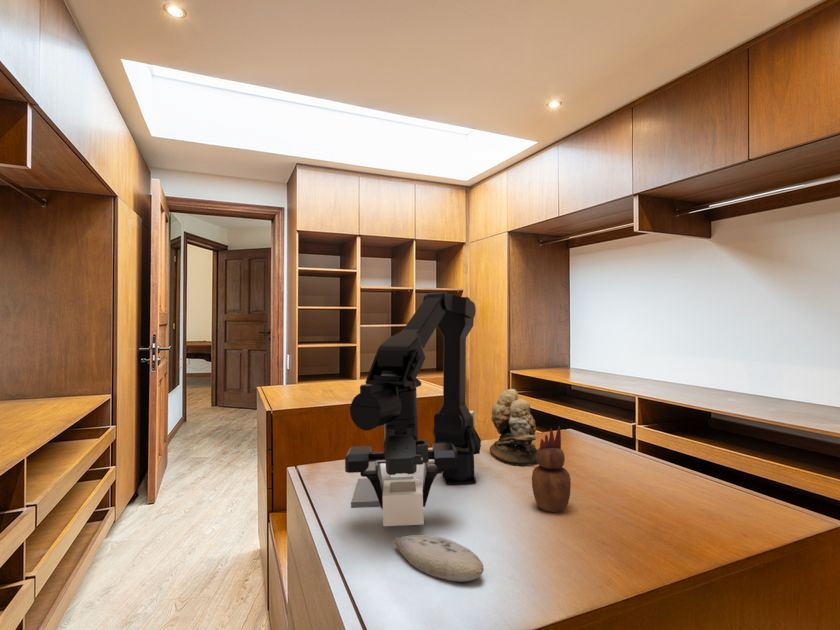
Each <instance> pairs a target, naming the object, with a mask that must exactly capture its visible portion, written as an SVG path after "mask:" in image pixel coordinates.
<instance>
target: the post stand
mask: <svg viewBox="0 0 840 630" xmlns="http://www.w3.org/2000/svg"><path fill="white" fill-rule="evenodd" d="M380 468H381V476H382V483H383V488H384V480H408V479H415V478H414V476H393V477H391V476H392V475H389V474H387V472H386V463H380ZM350 506H351V508H352V509H353V508H371V507H372V508H373V507H381V506H380V503H379V500H378V497H377V495H376V492H375V490H374V487H373V485H372V484H371V482H370V480H369V479H368V478H367V477H365V478H364V477H363V478H357V481H356V484H355V488H354V491H353V494H352V498H351V501H350Z"/></svg>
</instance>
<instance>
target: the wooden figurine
mask: <svg viewBox="0 0 840 630" xmlns="http://www.w3.org/2000/svg"><path fill="white" fill-rule="evenodd" d="M553 431H554V430H553V428H550V430H549V437H548V434H545V435H544V439H543V438H541V439H540V443H539V447H538V449H537V453H536V459H537V463H538V464H537V466H536V467H534V468H533V470H532V476H531V487H532V492H533V493H532V494H533V497H534V500H535V502H536V504H537V506H538V507H539V508H540V509H541V510H542V511H546V512H550V513H556V512H557V513H560V512H563V511H564V510H566V509H567V507H568V505H569V501H570V496H571V489H572V488H571V486H572V485H571V484H572V483H571V482H572V481H571V476H570V472H569V471H568V470H567V469H566V468H564V467H563V466H564V464H565V462H566V461H565V460H566V458H565V452H564V450H563V449H562V436H561V435H562V434H561V433H562V432H561V426H560V425H558V427H557V430H556V434H555V436H554V432H553Z"/></svg>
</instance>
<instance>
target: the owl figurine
mask: <svg viewBox="0 0 840 630" xmlns="http://www.w3.org/2000/svg"><path fill="white" fill-rule="evenodd" d="M530 407H531V405H530V403H529V402H528V401H527V400H525V399H523V398H519V395H518V391H517V390H516V389H515V388H510V389H506V390H504V391H502V393H501V394H499V397H498V399H497V401H495V402H494V403H493V405H492V406H491V418H490V420H491V422H492V424H493V426H494V427H495V429H496V432H497V433H498V434H499V437H498V440H496V441H494V443H492V444H491V445H490V447H489V452H490V455H491V456H492V458H493V459H495V460H496V461H498V462H500V463H503V464H505V465H509V466H519V467H520V466H521V467H522V466H527V465H539V464H538V463H537V459H536V453H537V450H538V449H537V448H536V445H535V443H534V442H533V441H536V439H537V437H536V431H537V427H536V420H535V419H534V417H533V415H532V414H531V409H530Z"/></svg>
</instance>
